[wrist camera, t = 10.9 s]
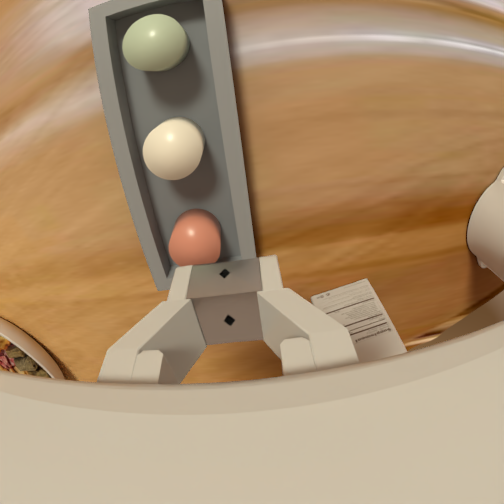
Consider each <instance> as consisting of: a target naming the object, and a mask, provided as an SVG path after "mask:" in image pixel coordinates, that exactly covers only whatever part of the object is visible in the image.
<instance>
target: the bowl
mask: <svg viewBox="0 0 504 504" xmlns="http://www.w3.org/2000/svg"><path fill="white" fill-rule="evenodd" d="M0 370H3V371H9V372H14V373H20V374H26V375H33V376H39V377H47V378H55V379H64V380H65V378H64V376H63V374H62V372H61V370H60V368H59V367H58V365H57V364H56V362H55V361H54V360H53V359H52V357H51V356H50V355H49V354H48V353H47V352H46V351H45V350H44V349H43V348H42V347H41V346H40V345H39V344H38V343H37V342H36V341H35V340H34V339H32V338H31V337H30V336H29V335H27V334H26V333H25V332H23V331H22V330H21V329H19V328H18V327H16V326H15V325H13V324H11V323H10V322H8V321H6V320H4V319H2V318H0Z"/></svg>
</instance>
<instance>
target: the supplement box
mask: <svg viewBox="0 0 504 504" xmlns="http://www.w3.org/2000/svg"><path fill="white" fill-rule="evenodd" d="M311 302H312V305H314V306H315V307H317V308H318V309H320V310H321V311H323V312H324V313H325V314H327V315H328V316H330V317H331V318H333V319H334V320H336V321H337V322H338V323H340V324H341V325H343V326H344V327H346V328H347V329H348V332H349V334H350V337H351V340H352V343H353V346H354V348H355V351H356V354H357V357H358V360H359V363H364V362H369V361H373V360H378V359H382V358H386V357H390V356H394V355H398V354H402V353H406V352H407V350H406V348H405V346H404V344H403V342H402V341H401V339H400V337H399V335H398V333H397V331H396V329H395V327H394V325H393V324H392V322H391V320H390V318H389V316H388V314H387V312H386V311H385V309H384V307H383V305H382V303H381V302H380V300H379V298H378V296H377V295H376V293H375V291H374V289H373V288H372V286H371V284H370V283H369V281H368V279H367V278H366V279H363V280H360V281H357V282H354V283H351V284H348V285H345V286H342V287H339V288H336V289H333V290H330V291H327V292H324V293H321V294H318V295H315V296H312V297H311Z"/></svg>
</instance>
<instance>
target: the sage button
mask: <svg viewBox="0 0 504 504" xmlns="http://www.w3.org/2000/svg"><path fill="white" fill-rule="evenodd" d="M189 46H190V40H189V36H188V34H187V32H186V31H185V30H184V28H183V27H182V26H181V25H180V24H179V23H178V22H177V21H176V20H175V19H173V18H172V17H169V16H167V15H163V14H152V15H148V16H145V17H143V18H141V19H139V20H137V21H136V22H135V23H134V24H132V25H131V27H130V28H129V29H128V30H127V32H126V34H125V36H124V39H123V44H122V49H123V54H124V57H125V59H126V60H127V62H128V63H129V64H130V65H131V66H133V67H134V68H136V69H139V70H143V71H158V72H160V71H167V70H170V69H172V68H174V67H176V66H177V65H179V64H180V63H181V62H182V61H183V60H184V59H185V57H186V55H187V53H188V51H189Z"/></svg>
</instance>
